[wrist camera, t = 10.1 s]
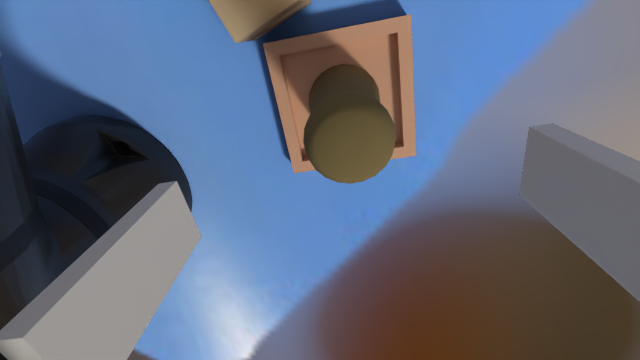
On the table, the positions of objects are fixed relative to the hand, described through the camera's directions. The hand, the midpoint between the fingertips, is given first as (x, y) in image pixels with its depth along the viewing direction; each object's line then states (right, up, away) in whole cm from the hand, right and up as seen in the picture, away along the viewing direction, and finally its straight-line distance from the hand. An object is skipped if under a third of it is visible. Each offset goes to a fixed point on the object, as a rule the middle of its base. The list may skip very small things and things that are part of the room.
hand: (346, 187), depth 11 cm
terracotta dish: (+1, +7, +14) cm, 16 cm away
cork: (+1, +7, +14) cm, 16 cm away
